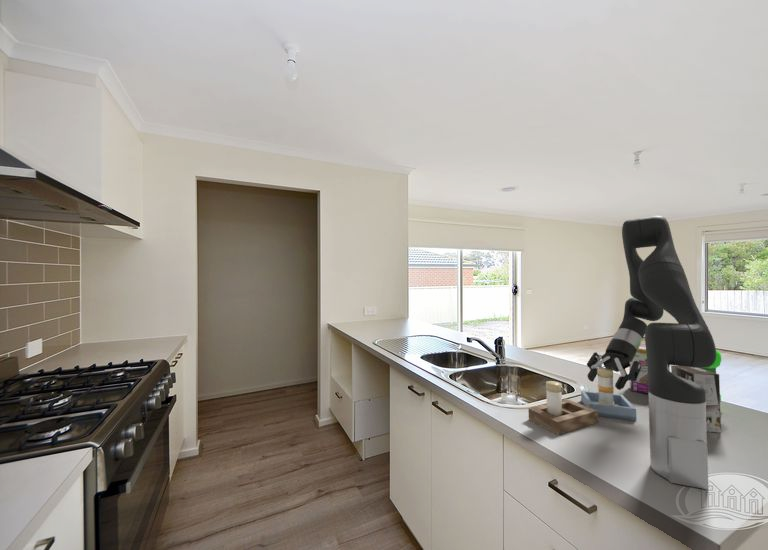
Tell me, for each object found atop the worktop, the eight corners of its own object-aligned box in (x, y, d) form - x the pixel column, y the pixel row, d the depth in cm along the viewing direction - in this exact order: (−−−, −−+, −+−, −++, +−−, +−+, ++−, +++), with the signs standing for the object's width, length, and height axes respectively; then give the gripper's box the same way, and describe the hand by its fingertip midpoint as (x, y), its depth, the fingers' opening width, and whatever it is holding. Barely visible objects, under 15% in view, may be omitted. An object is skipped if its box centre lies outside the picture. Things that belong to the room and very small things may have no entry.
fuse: (563, 427, 89) (562, 386, 89) (547, 425, 91) (546, 384, 91) (561, 421, 93) (560, 381, 93) (546, 419, 95) (545, 380, 95)
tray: (636, 420, 92) (636, 409, 92) (589, 414, 97) (589, 403, 97) (622, 405, 104) (622, 394, 104) (581, 400, 108) (581, 390, 108)
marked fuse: (616, 410, 98) (614, 372, 98) (600, 408, 99) (599, 371, 99) (612, 404, 102) (610, 368, 102) (597, 403, 103) (595, 367, 103)
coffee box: (722, 433, 84) (721, 374, 85) (695, 431, 86) (693, 373, 86) (696, 418, 93) (694, 365, 94) (671, 416, 95) (670, 364, 95)
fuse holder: (566, 409, 101) (566, 398, 101) (597, 422, 92) (597, 410, 92) (528, 419, 95) (528, 408, 95) (558, 434, 85) (557, 422, 85)
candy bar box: (631, 391, 115) (630, 348, 115) (629, 387, 119) (628, 345, 120) (671, 397, 109) (669, 351, 109) (667, 392, 113) (666, 348, 114)
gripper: (597, 334, 110) (576, 371, 105) (643, 341, 97) (622, 383, 92) (607, 347, 112) (587, 384, 107) (653, 356, 99) (633, 398, 94)
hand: (603, 383), depth 100 cm, fingers open, 8 cm apart
